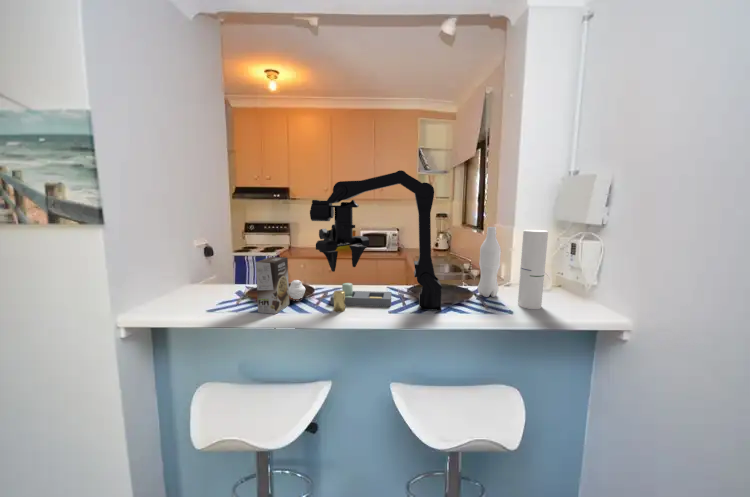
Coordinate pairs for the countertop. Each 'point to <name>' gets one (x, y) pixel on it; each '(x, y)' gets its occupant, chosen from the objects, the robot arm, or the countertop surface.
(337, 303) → the brass plug
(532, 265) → the cylindrical container
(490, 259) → the water bottle
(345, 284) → the sage plug
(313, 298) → the countertop surface
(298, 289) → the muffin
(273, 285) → the coffee box
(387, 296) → the panel
